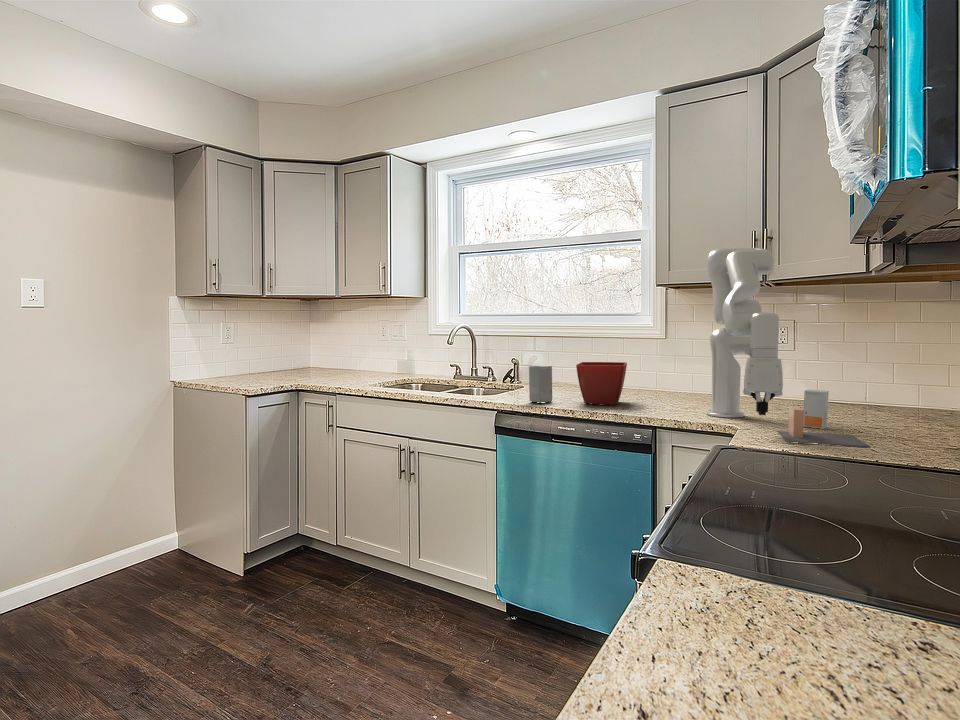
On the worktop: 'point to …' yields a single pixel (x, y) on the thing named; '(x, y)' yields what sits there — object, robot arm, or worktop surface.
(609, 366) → the plant pot
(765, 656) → the worktop surface
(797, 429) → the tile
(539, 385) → the grey canister
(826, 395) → the skincare box
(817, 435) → the mat
